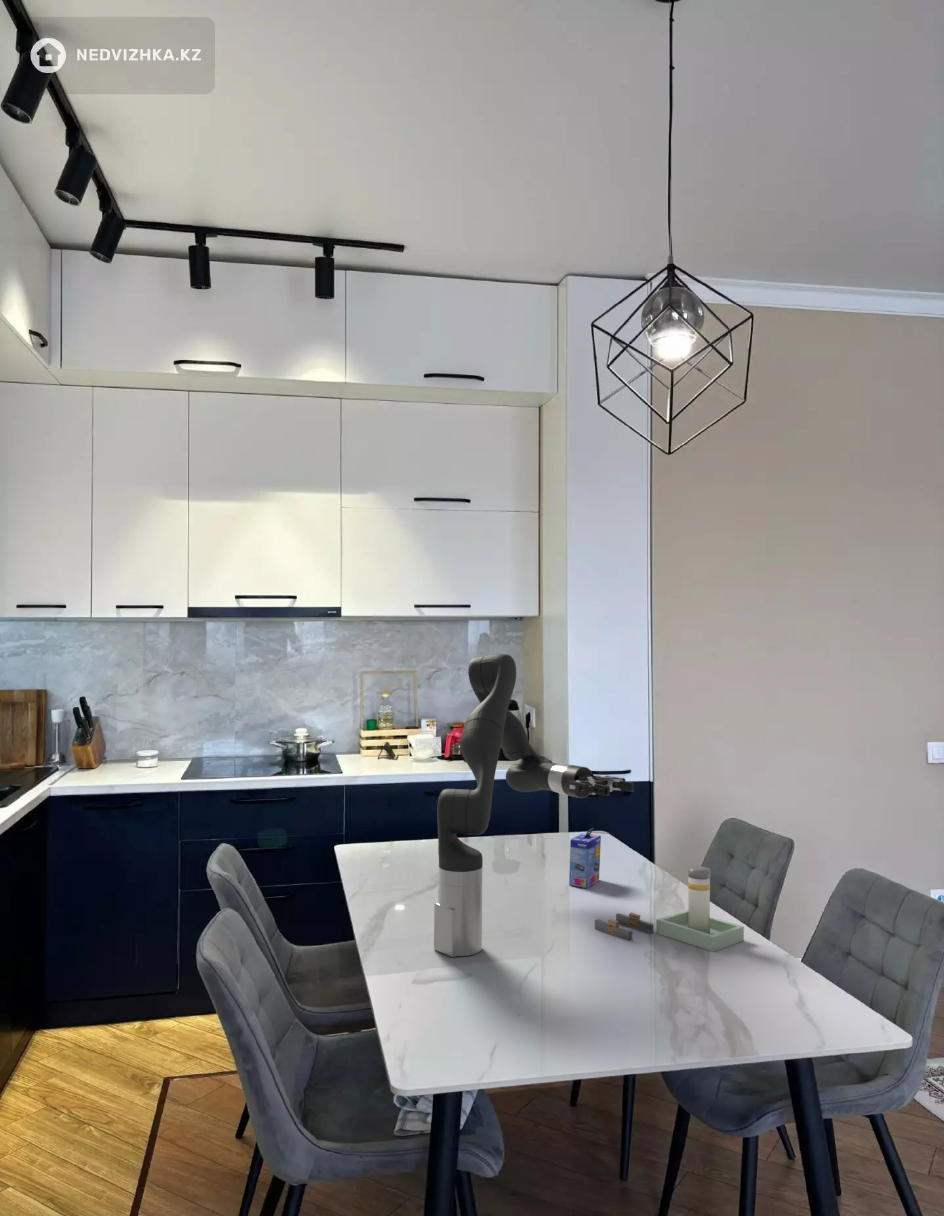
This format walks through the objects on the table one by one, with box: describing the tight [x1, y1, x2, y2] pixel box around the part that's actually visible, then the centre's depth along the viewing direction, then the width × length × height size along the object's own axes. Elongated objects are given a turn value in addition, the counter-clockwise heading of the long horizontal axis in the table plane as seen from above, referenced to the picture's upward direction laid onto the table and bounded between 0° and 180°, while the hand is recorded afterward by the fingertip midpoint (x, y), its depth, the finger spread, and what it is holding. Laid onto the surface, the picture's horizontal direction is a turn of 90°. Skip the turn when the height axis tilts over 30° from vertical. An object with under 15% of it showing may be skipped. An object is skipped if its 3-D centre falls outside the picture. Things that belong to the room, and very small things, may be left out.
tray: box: [655, 909, 745, 953], centre depth 200 cm, size 11×15×3 cm
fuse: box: [687, 865, 711, 934], centre depth 201 cm, size 5×5×14 cm
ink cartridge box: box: [568, 827, 602, 889], centre depth 243 cm, size 10×6×14 cm, turn 152°
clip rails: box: [594, 912, 654, 941], centre depth 204 cm, size 8×10×3 cm
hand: (621, 789), depth 213 cm, fingers open, 8 cm apart
